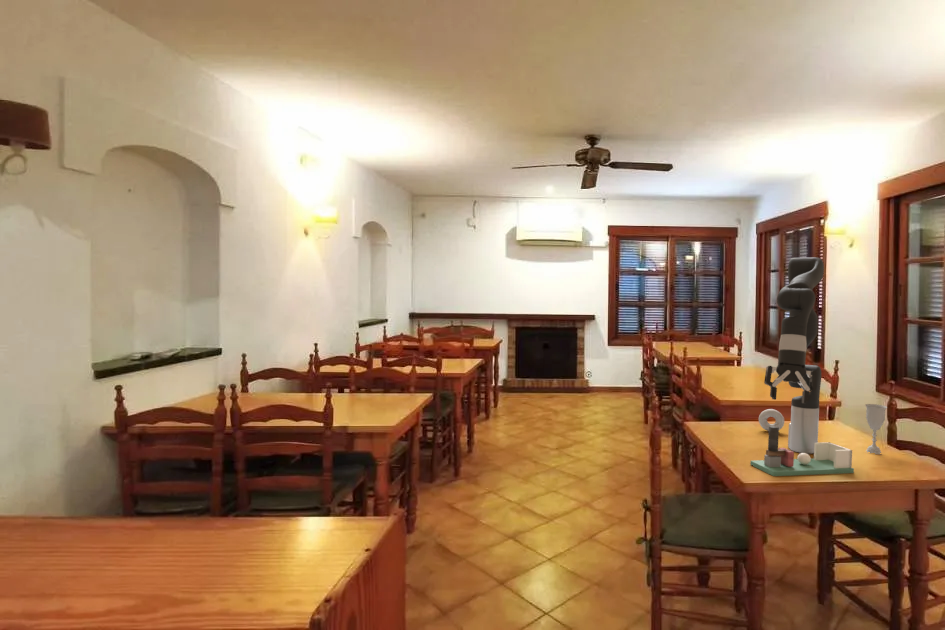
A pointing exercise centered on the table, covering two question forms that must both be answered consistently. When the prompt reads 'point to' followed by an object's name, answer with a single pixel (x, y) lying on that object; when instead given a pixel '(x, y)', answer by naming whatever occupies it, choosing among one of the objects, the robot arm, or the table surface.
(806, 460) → the ball
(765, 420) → the donut
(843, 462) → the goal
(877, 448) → the chalice
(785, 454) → the slider rod
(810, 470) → the playfield
